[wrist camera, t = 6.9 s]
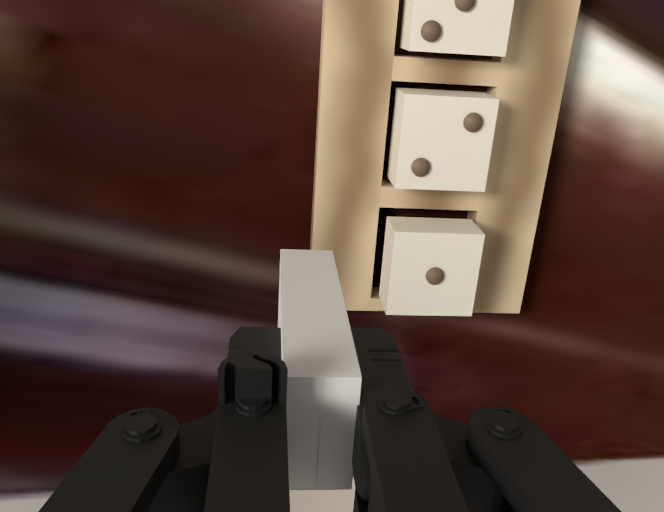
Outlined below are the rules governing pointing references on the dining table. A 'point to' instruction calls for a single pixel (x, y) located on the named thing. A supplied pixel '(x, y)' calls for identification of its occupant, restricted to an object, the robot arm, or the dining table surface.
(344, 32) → the button board
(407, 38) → the three pip tile
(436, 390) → the dining table surface
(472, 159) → the two pip tile
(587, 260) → the dining table surface
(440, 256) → the one pip tile
